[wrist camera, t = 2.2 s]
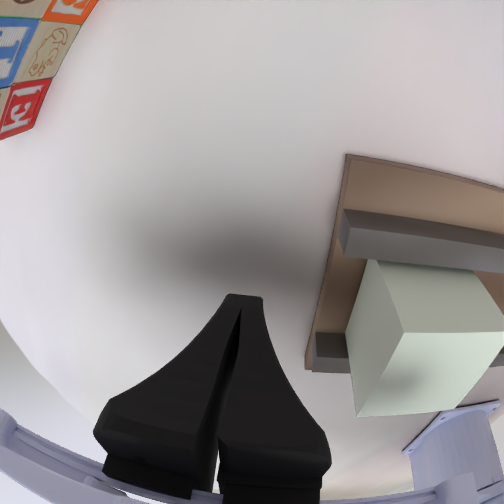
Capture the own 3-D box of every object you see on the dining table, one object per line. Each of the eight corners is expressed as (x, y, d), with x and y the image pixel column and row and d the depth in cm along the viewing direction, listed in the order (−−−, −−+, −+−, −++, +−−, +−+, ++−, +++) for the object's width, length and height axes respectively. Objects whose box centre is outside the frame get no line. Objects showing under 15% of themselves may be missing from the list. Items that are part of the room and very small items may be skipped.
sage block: (427, 335, 15) (454, 409, 10) (345, 332, 15) (356, 417, 11) (463, 258, 12) (513, 331, 8) (371, 247, 12) (404, 332, 8)
